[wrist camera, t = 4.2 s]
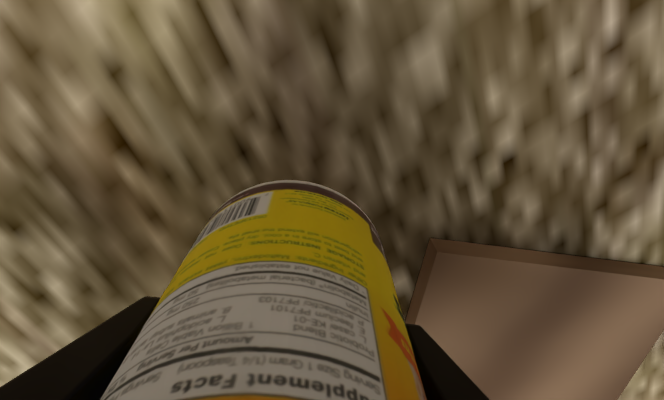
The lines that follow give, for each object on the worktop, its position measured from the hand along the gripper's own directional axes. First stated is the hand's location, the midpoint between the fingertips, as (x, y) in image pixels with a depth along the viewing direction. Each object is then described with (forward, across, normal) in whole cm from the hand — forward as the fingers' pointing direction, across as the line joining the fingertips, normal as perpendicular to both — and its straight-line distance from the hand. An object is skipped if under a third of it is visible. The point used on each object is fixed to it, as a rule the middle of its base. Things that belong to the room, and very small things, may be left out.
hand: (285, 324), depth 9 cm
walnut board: (+5, -10, +5) cm, 12 cm away
